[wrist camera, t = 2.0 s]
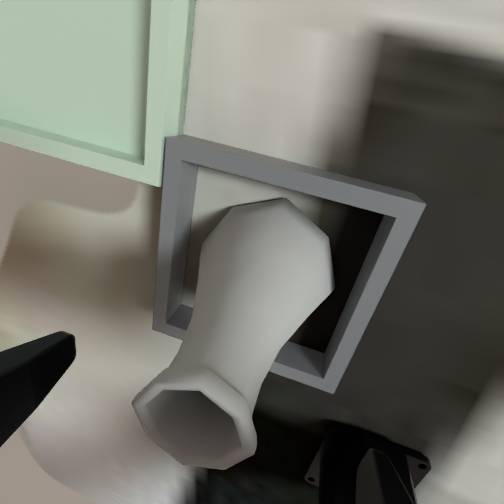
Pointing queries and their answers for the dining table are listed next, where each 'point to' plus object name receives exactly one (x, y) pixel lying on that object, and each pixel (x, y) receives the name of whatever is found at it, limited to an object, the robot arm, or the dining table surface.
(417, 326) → the dining table surface
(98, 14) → the tray
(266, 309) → the flask
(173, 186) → the socket
